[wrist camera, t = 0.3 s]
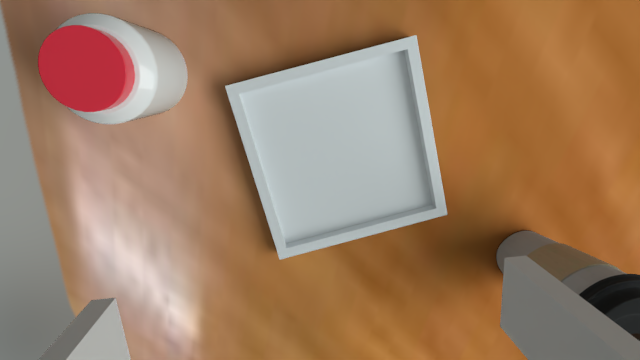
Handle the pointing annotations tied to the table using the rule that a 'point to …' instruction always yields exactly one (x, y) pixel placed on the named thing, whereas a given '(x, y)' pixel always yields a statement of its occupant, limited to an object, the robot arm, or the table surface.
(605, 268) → the coffee cup
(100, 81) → the pill bottle
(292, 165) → the tray
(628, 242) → the table surface
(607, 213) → the table surface
